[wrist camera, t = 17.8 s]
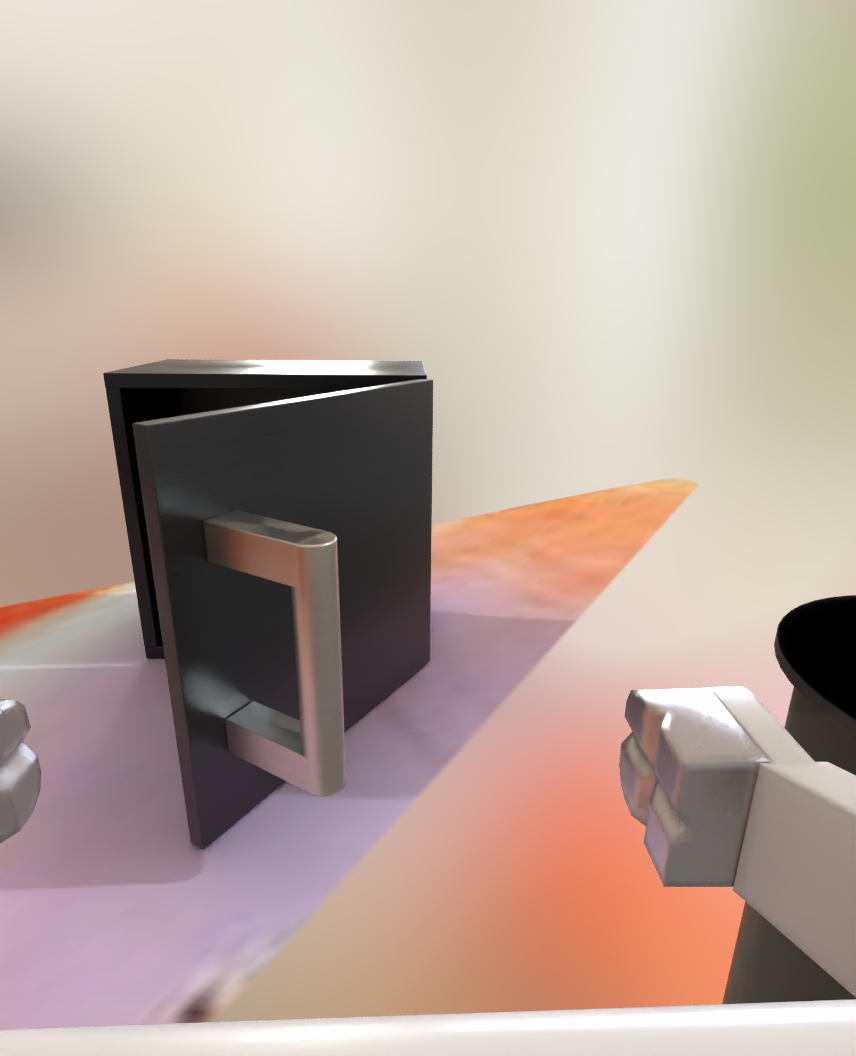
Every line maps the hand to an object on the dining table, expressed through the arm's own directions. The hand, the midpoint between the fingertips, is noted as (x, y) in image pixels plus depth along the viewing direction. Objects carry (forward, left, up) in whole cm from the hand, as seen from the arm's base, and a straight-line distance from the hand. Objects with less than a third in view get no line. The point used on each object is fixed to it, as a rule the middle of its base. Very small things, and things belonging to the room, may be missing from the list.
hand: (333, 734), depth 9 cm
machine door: (-5, -19, -15) cm, 25 cm away
